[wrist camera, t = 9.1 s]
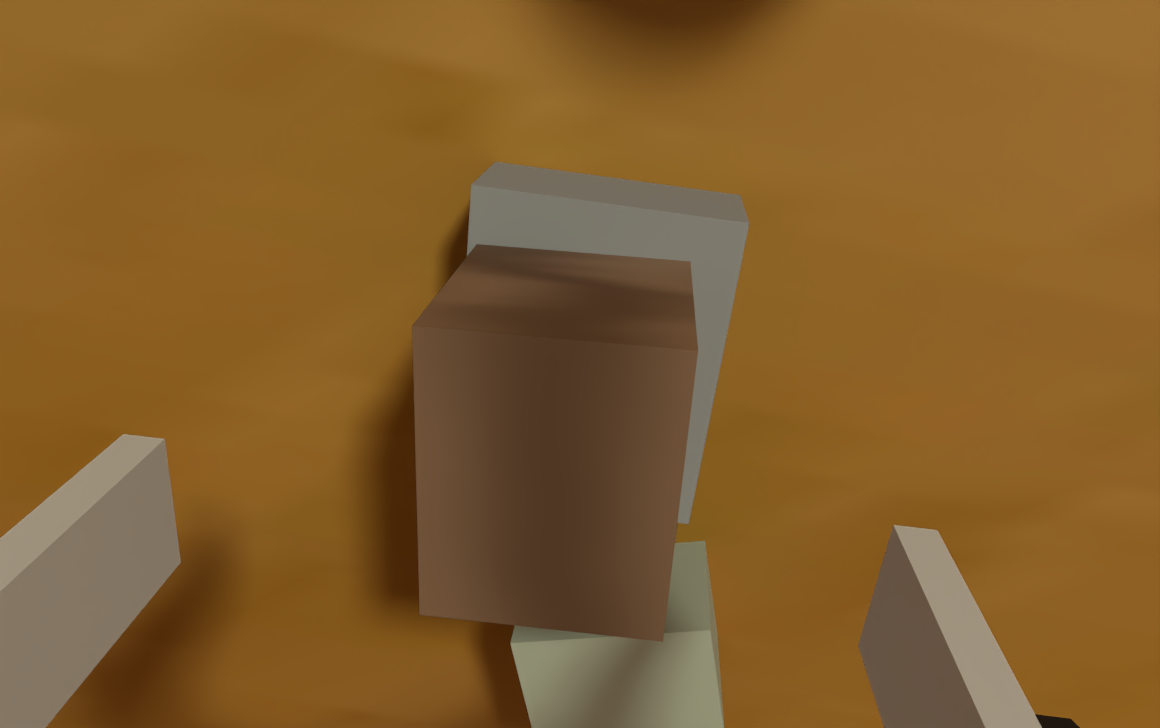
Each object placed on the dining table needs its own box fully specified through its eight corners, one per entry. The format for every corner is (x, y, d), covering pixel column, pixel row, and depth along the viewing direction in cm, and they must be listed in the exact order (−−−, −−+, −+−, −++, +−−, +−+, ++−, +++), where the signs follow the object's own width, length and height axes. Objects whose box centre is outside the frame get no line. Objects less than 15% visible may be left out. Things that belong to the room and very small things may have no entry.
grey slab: (477, 431, 28) (452, 487, 25) (497, 159, 24) (471, 184, 21) (686, 463, 28) (688, 524, 25) (739, 192, 24) (749, 223, 21)
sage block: (553, 642, 31) (534, 741, 27) (532, 553, 30) (510, 643, 25) (717, 632, 30) (724, 732, 26) (704, 539, 29) (710, 630, 24)
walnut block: (475, 478, 25) (419, 614, 19) (476, 244, 22) (412, 325, 16) (664, 496, 24) (662, 641, 19) (690, 261, 21) (698, 350, 16)
